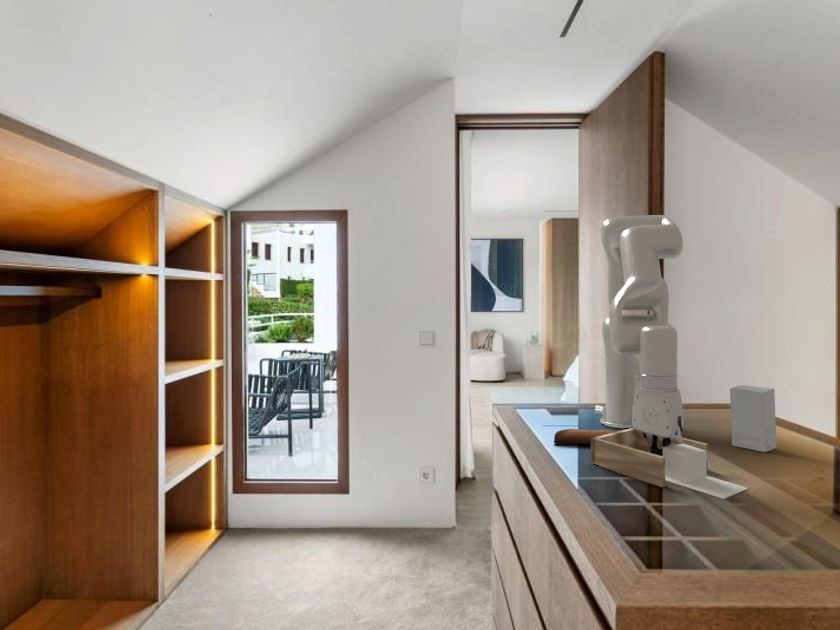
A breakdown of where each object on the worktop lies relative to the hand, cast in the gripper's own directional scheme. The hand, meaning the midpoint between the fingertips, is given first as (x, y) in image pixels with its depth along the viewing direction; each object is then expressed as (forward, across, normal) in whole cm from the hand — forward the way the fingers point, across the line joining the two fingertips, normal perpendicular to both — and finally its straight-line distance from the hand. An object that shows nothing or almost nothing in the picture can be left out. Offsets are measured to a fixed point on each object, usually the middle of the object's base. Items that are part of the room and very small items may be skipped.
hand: (658, 463), depth 127 cm
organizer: (+1, -2, 0) cm, 3 cm away
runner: (+1, +4, 0) cm, 4 cm away
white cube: (+1, +6, 0) cm, 6 cm away
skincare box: (+2, +3, +33) cm, 33 cm away
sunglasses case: (+2, -23, +4) cm, 24 cm away
